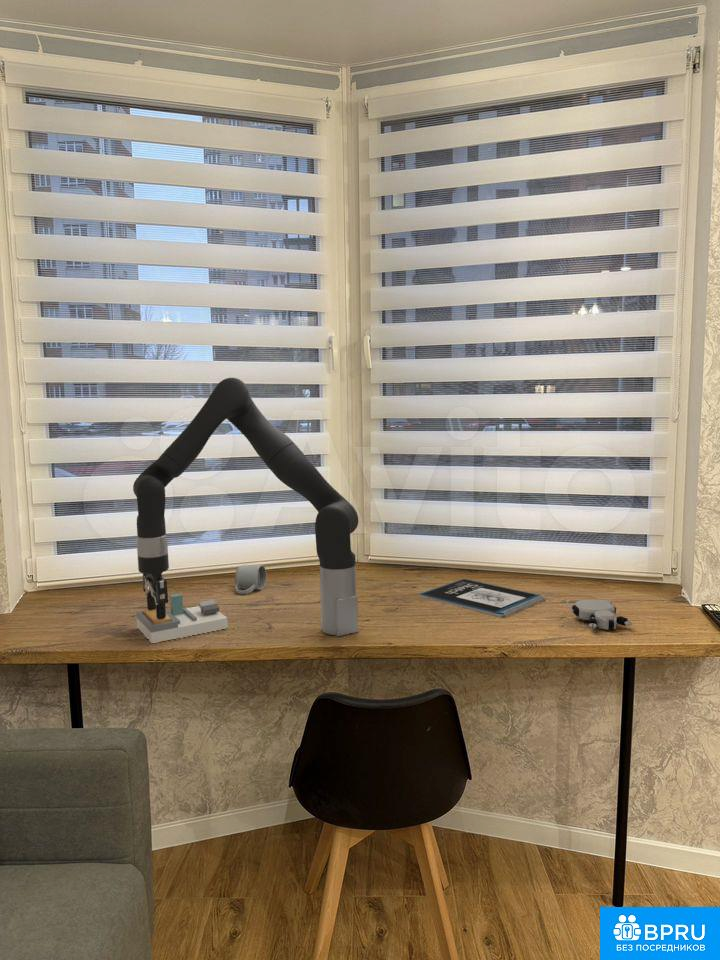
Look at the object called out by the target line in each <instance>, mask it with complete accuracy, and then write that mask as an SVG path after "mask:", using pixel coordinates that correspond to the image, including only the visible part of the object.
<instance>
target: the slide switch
mask: <svg viewBox="0 0 720 960" xmlns="http://www.w3.org/2000/svg"><path fill="white" fill-rule="evenodd" d="M169 604H170V611H171V613H172V614H173V615H177V614H183V607H184V599H183V594H181V593H175V594H170V595H169Z"/></svg>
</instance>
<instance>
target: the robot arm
mask: <svg viewBox="0 0 720 960" xmlns="http://www.w3.org/2000/svg"><path fill="white" fill-rule="evenodd" d="M225 420H227V421H229V423H231V424H232V425H233V426H234V427H235V428H236V429H237V430H238V432H239V431H240V433H241V434H242V435H243V436H244V437H245V438H246V439H247V440H248V442H249V444H250V445H251V446H252V448H253V449H254V451H255V452H256V454H257V455H258V456H259V458H260V459H261V460H262V461H263V463H264V464H265V465H266V466H267V468H268V469H269V470H270V471H271V472H272V474H273V475H274V476H275V477H276V478H277V479H278V480H279V481H280V482H281V483H282V484H284V485H286V486H287V487H289V488H290V489H291V490H293V491H294V492H296V493H297V494H298V495H301V496H302V497H303V498H305V499H306V500H307V501H309V503H310V504H311V505H312V506H313V507H314V509H315V510H316V511H317V515H316V518H315V523H314V525H315V527H314V533H315V546H316V549H315V550H316V554H317V557H318V561H319V582H320V583H319V587H320V588H319V591H320V618H321V619H320V620H321V621H320V623H321V631H322V632H323V633H324V634H327V635H332V636H336V637H340V636H346V635H350V633H351V634H354V633H358V632H359V614H358V613H359V610H358V609H359V608H358V607H359V606H358V605H359V604H358V596H357V577H356V575H357V573H356V572H357V570H356V568H357V567H356V563H357V561H356V554H355V553H354V551H353V552H352V544H351V534H352V533H354V532H355V531H356V529H357V528H358V525H359V515H358V512H357V510H356V508H355V507H354V505H353V504H351V503H350V502H349V501H348V499H346V498H345V497H344V496H343V495H342V494H340V493H339V491H337V490H336V489H335V488H334V487H333V486H332V485H331V484H330V483H329V482H328V481H327V479H325V477H324V476H323V475H322V474H321V473H320V471H319V470H318V469H317V468H316V466H314V465H313V463H312V462H311V460H309V459H308V457H307V456H306V455H305V454H304V452H303V450H301V449H300V448H299V446H298V445H296V443H295V442H294V441H293V440H292V439H291V438H290V436H288V434H287V435H286V433H284V432H283V431H282V430H280V429H279V428H278V427H276V426H275V425H274V424H272V423H271V422H270V421H269V420H268V419H267V418H266V417H265V415H264V414H263V413H262V412H261V410H260V409H259V407H257V405H256V403H255V402H254V401H253V399H252V397H251V393H250V390H249V388H248V386H247V385H246V383H245V382H244V381H243V380H241V379H240V378H237V377H228V378H224V379H222V380H221V381H219V382H218V384H217V385H216V386H215V388H214V389H213V391H212V392H211V393H210V395H209V397H208V398H207V399H206V401H205V403H204V404H203V406H202V407H201V408H200V410H199V411H198V413H197V414H196V415H195V416H194V418H193V419H192V420H191V422H190V423H189V424H188V425H187V426H186V427H185V428H184V430H182V432H181V433H180V434H179V435H178V436H177V438H175V440H173V442H172V443H171V444H170V445H168V446H167V448H166V449H165V450H164V451H163V452H162V453H161V455H160V456H159V457H158V458H157V459H156V460H155V461H154V462H152V463H151V464H150V465H149V466H148V467H147V468H145V469H144V470H143V471H142V472H141V473H140V474H139V475H138V476H137V478H136V479H135V480H134V482H133V485H132V491H133V494H134V496H135V497H136V503H137V514H138V515H137V517H136V535H137V538H136V539H137V540H136V550H137V551H136V552H137V553H136V554H137V568H138V572H139V573H140V574H142V590H143V592H144V595H145V596H146V609H148V610H154V609H156V617H157V618H158V619H162V618H165V617H166V610H167V609H166V604H168V603H169V596H168V595H169V594H168V580H167V579H165V578H164V577H163V575H162V574H163V573H164V572H167V571H168V570H169V568H170V564H169V563H170V562H169V548H168V547H169V546H168V544H169V543H168V540H167V534H166V533H167V531H166V530H167V529H166V527H167V526H166V519H165V512H166V488H167V486H168V484H170V482H172V481H173V480H174V479H176V478H179V477H180V476H181V475H182V474H183V473H184V472H185V471H186V469H188V468H189V467H190V465H191V464H192V463H193V462H194V461H195V460H196V459H197V458H198V457H199V455H200V453H201V452H202V450H203V449H204V447H205V446H206V444H207V443H208V441H209V439H211V436H212V435H213V434H214V432H215V431H216V429H217V428H218V427H220V425H221V424H222V423H223V422H224V421H225Z"/></svg>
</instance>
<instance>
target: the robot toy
mask: <svg viewBox="0 0 720 960" xmlns="http://www.w3.org/2000/svg"><path fill="white" fill-rule="evenodd" d="M566 604H567V606H568V607H569V609H570V611H571V613H573V614H574V615H575V616H576V617H578V618H579V619H580V620H582V621H588V627H589V628H592V629H596V628H598V629H599V630H612V629H613V630H616V629H617V624H618V625H620V626H622V627H625V626H626V627H627V626H628V627H630V626H632V625H633V622H632V621H630V620H628V618H626V617H624V616H621V615H620V616H617V615H616V614H617V609H618V608H617V607H616V605H614V604H613V602H612V601H611V599H608V600H604V599H599V598H598V599H595V598H594V599H593V598H592V599H591V598H590V599H582V600H577V601H576V602H574V603H573V605H572V607H571V605H570V603H569V602H568V601H566Z"/></svg>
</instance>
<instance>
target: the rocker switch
mask: <svg viewBox="0 0 720 960" xmlns="http://www.w3.org/2000/svg"><path fill="white" fill-rule="evenodd" d="M198 606H199V607H200V609H201V613H204V614H210V613H215V612H220V607H219V605H218V604H217V602H216V601H215V600H214V599H208V600H203V601H199V602H198Z"/></svg>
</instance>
